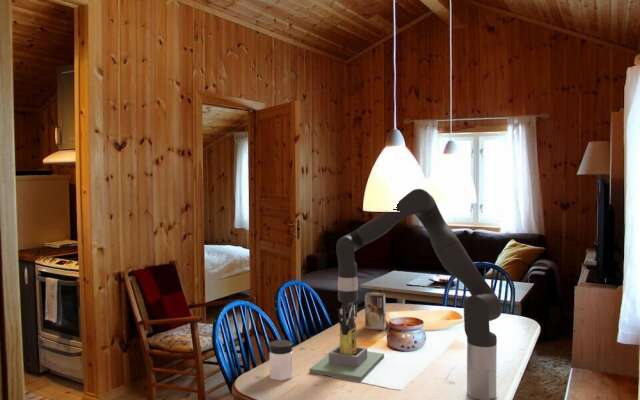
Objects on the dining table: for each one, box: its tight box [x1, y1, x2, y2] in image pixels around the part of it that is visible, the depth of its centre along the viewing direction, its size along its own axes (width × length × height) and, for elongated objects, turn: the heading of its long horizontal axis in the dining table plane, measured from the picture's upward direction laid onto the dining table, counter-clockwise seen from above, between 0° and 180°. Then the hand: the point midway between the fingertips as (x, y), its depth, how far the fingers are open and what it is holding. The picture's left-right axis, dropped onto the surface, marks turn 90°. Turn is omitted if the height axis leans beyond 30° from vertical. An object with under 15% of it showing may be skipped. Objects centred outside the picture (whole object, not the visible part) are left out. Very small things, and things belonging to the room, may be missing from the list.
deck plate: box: [309, 344, 385, 382], centre depth 201 cm, size 26×20×6 cm
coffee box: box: [364, 291, 387, 331], centre depth 249 cm, size 9×6×16 cm
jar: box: [268, 339, 293, 382], centre depth 191 cm, size 9×8×12 cm
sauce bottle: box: [339, 305, 357, 356], centre depth 201 cm, size 7×6×20 cm
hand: (348, 331), depth 201 cm, fingers closed on sauce bottle, 6 cm apart
